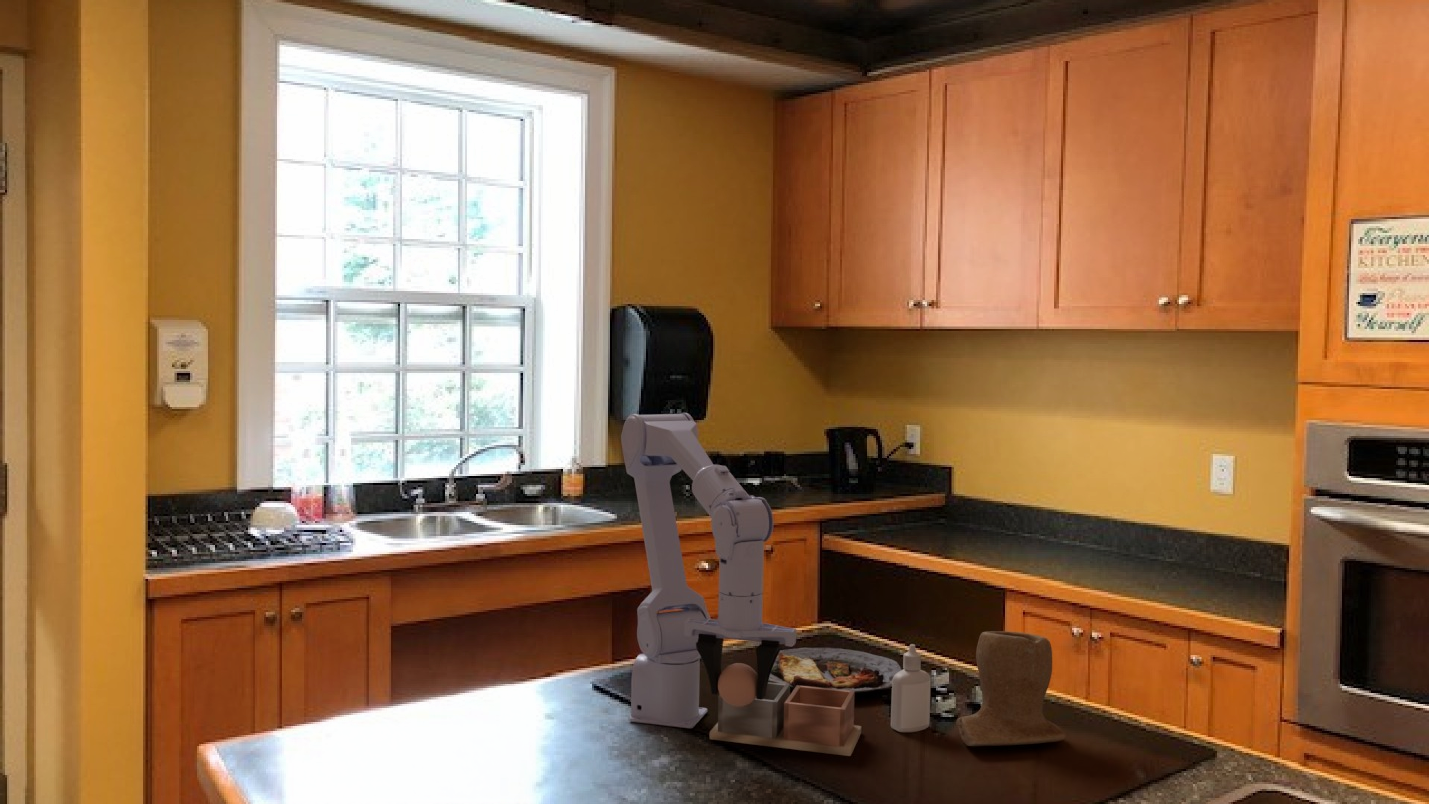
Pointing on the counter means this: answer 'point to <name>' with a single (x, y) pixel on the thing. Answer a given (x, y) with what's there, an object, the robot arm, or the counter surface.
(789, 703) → the sorting bin tray
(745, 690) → the terracotta ball
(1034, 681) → the brown flared upright piece
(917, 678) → the eye dropper bottle
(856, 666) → the food plate
